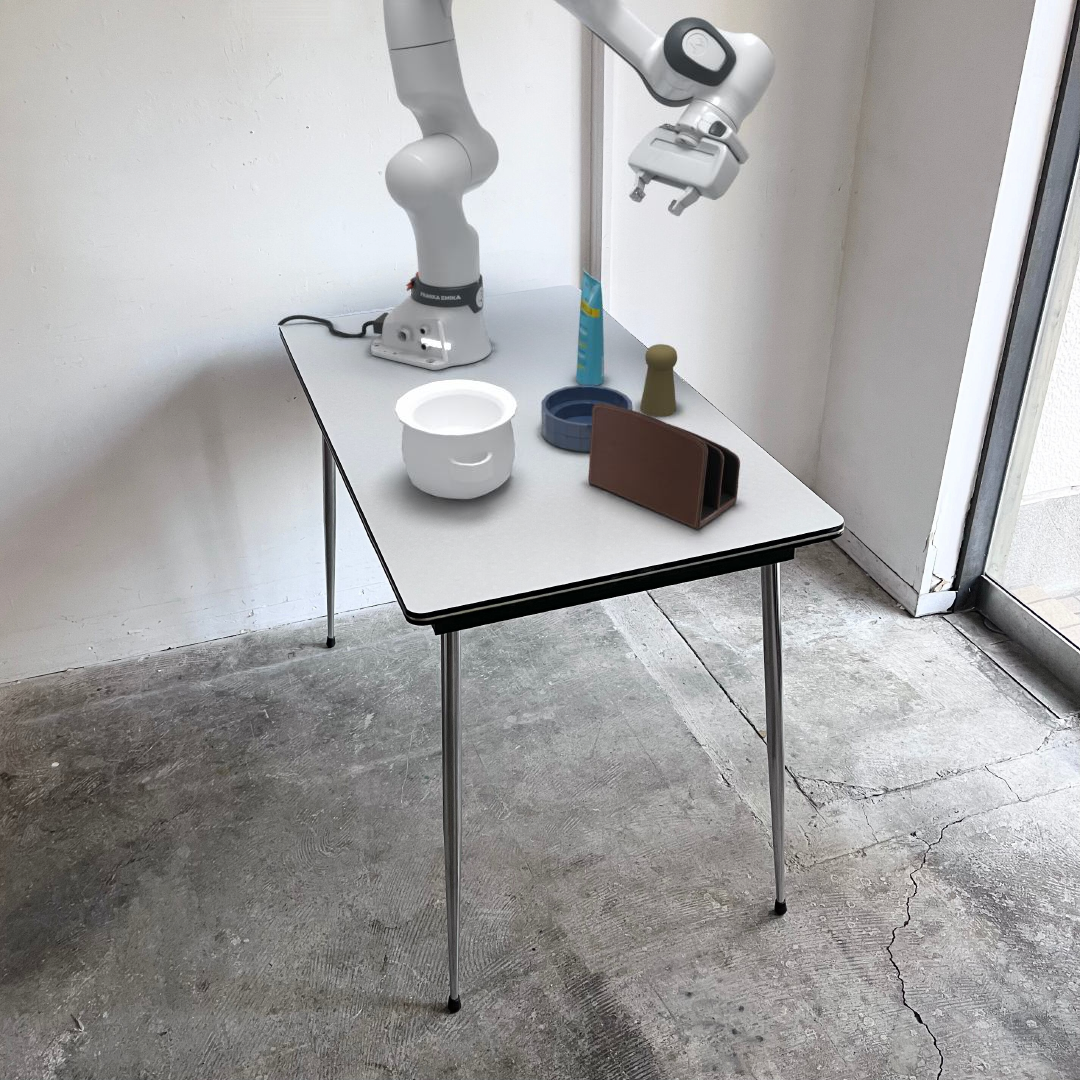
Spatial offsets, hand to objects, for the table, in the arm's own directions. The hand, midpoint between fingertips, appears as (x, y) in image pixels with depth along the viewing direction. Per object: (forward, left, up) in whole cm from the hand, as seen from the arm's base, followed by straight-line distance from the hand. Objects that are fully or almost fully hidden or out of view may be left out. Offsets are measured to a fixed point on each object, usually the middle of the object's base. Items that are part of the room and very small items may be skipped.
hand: (652, 206), depth 173 cm
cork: (+4, -7, -32) cm, 33 cm away
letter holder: (+11, -35, -32) cm, 48 cm away
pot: (-18, -40, -32) cm, 54 cm away
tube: (-10, 0, -32) cm, 33 cm away
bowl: (-5, -19, -31) cm, 37 cm away
